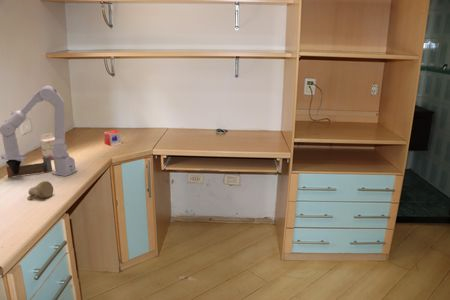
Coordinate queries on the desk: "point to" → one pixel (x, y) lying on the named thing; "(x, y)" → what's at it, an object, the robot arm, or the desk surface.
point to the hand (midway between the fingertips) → (16, 173)
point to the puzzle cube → (112, 138)
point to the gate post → (47, 163)
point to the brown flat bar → (28, 169)
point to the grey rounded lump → (41, 190)
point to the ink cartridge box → (47, 144)
